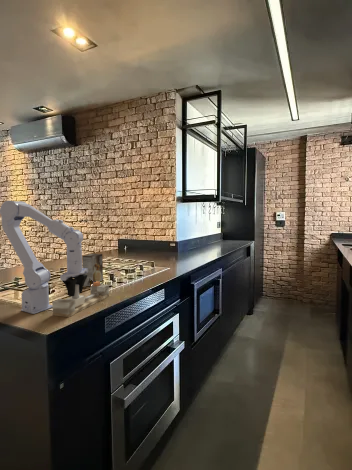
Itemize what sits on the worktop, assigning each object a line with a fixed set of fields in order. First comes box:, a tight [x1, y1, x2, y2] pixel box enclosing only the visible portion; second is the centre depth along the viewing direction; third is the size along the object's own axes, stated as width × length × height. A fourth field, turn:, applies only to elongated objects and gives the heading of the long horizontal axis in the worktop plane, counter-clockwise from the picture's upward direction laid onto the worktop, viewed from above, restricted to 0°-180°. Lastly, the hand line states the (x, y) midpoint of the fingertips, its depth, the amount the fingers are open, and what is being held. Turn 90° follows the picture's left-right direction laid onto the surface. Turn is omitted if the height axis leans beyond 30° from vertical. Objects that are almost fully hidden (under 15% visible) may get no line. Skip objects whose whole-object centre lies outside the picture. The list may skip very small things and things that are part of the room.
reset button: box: [93, 281, 100, 286], centre depth 134 cm, size 2×2×3 cm
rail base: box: [51, 283, 110, 318], centre depth 123 cm, size 28×7×5 cm, turn 161°
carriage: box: [66, 284, 86, 307], centre depth 118 cm, size 6×4×8 cm
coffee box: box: [82, 253, 104, 287], centre depth 155 cm, size 9×6×16 cm
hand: (75, 294), depth 118 cm, fingers open, 4 cm apart
